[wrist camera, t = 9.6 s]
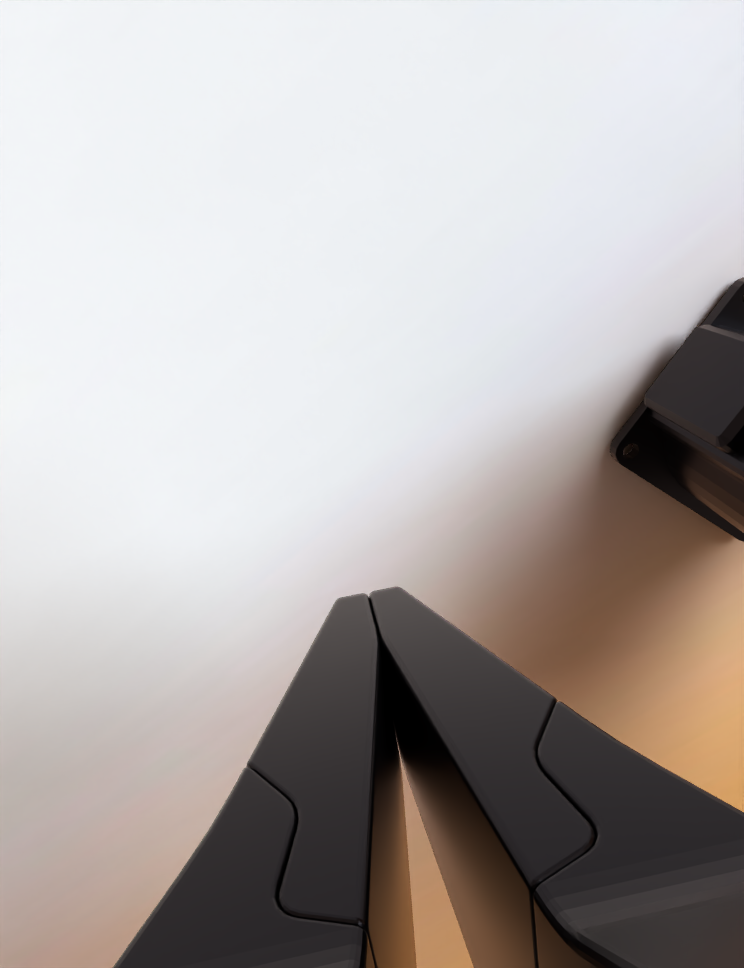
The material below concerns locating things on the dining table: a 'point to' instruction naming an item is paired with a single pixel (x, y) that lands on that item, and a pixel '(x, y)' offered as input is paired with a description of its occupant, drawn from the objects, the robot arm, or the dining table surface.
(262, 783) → the robot arm
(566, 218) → the dining table surface
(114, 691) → the dining table surface
